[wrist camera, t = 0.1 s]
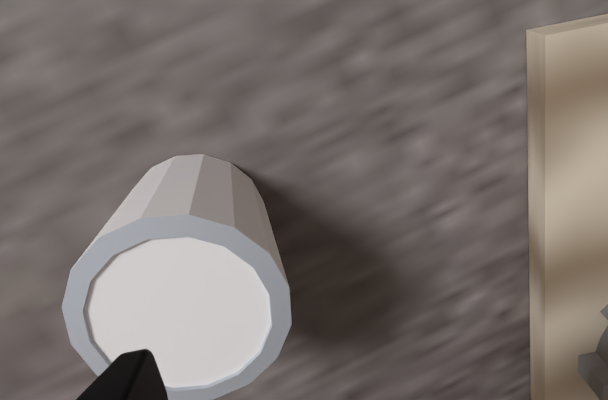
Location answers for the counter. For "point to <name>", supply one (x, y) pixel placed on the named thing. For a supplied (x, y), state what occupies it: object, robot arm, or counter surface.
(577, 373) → the gear board
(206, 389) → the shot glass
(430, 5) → the counter surface
